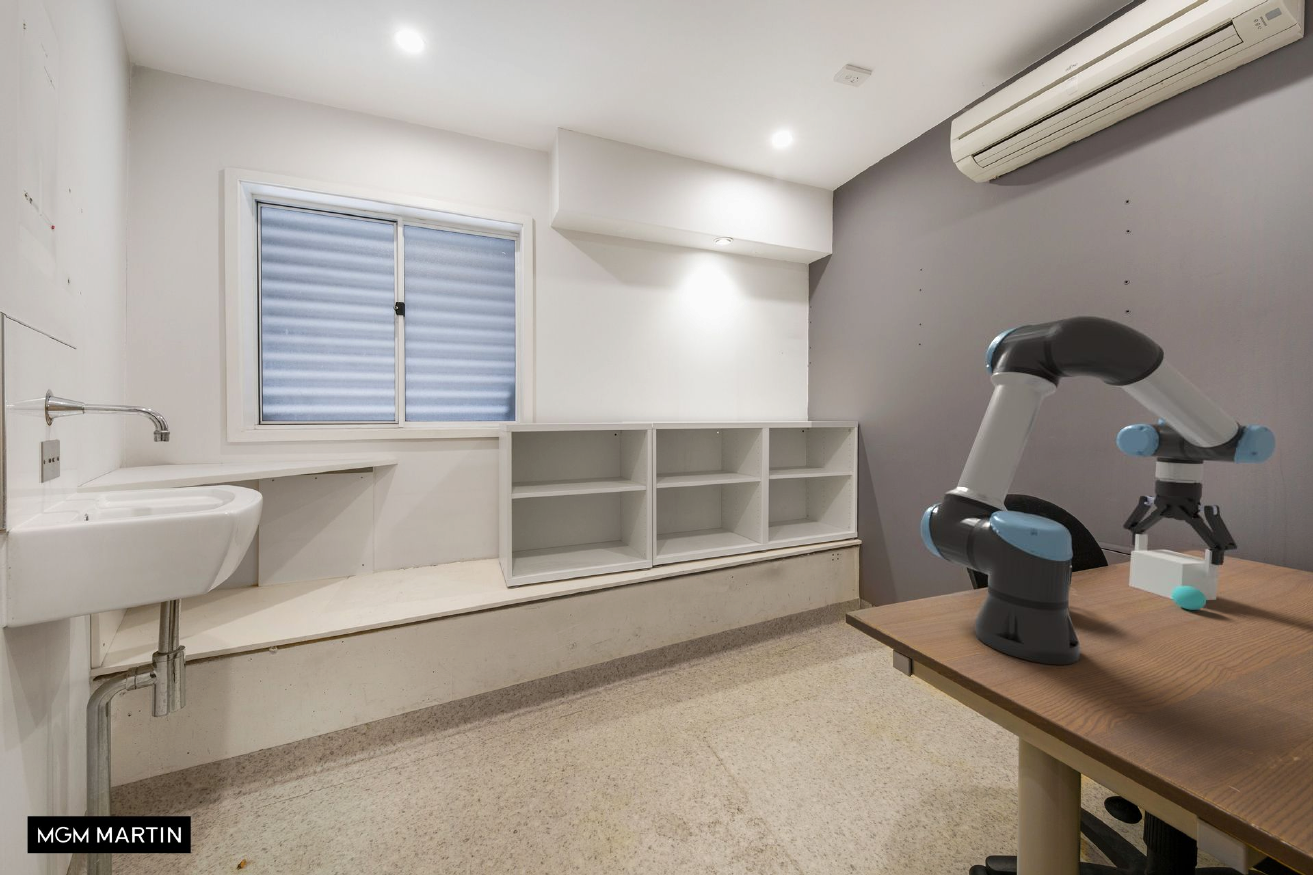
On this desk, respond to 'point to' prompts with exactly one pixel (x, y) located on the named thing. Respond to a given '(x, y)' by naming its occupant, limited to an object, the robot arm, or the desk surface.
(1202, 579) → the white rectangular brick
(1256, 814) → the desk surface
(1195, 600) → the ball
